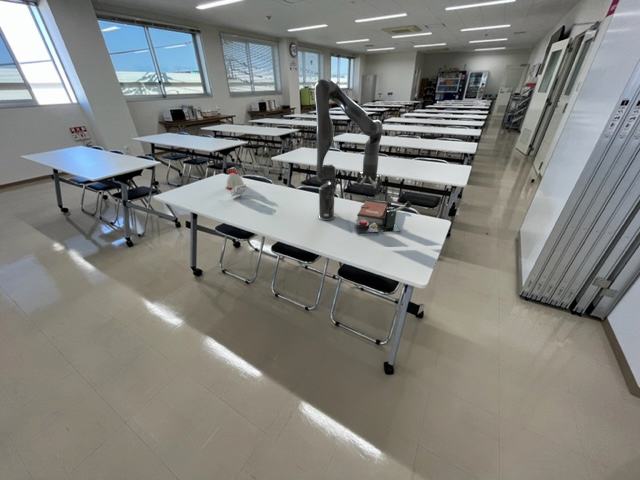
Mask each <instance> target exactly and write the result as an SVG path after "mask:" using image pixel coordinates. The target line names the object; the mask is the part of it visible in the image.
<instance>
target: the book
mask: <svg viewBox="0 0 640 480" xmlns="http://www.w3.org/2000/svg"><path fill="white" fill-rule="evenodd" d="M391 207H392V202H391V201H381V200H374V199H366V200H365V201H364V203H363V204H362V205H361V207H360V209H359V211H358V213H357V214H356V216H357V220H358V221H360V220H366V221H367V222H369V223H375V224H384V221H385V214H386V208H391Z"/></svg>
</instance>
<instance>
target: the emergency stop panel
mask: <svg viewBox="0 0 640 480" xmlns="http://www.w3.org/2000/svg"><path fill="white" fill-rule="evenodd" d="M371 224H372V223H370V222H369V221H367V224H366V225H361V224H360V220H358V221H357V222H356V224H355V227H356V230H357V232H358V235H366V234H367V235H368V234H379V229H378V227H377V228H371V227H370V225H371Z"/></svg>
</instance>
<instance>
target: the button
mask: <svg viewBox="0 0 640 480" xmlns="http://www.w3.org/2000/svg"><path fill="white" fill-rule="evenodd" d="M359 221H360V224H361V225H366V224H367V222H368V221H366V220H359Z"/></svg>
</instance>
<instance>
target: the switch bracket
mask: <svg viewBox="0 0 640 480" xmlns="http://www.w3.org/2000/svg"><path fill="white" fill-rule="evenodd" d="M390 209H393V210H390ZM394 209H395V207H392V206H391V208H386V214H385V221H384V224H381V223H377V228H379V230H380V233H392V232H397V233H398V232H401V229H400V228H399V227H398V225H397V224H396V218H397V212H398V211H396V210H394ZM388 210H390V211H388Z"/></svg>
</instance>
